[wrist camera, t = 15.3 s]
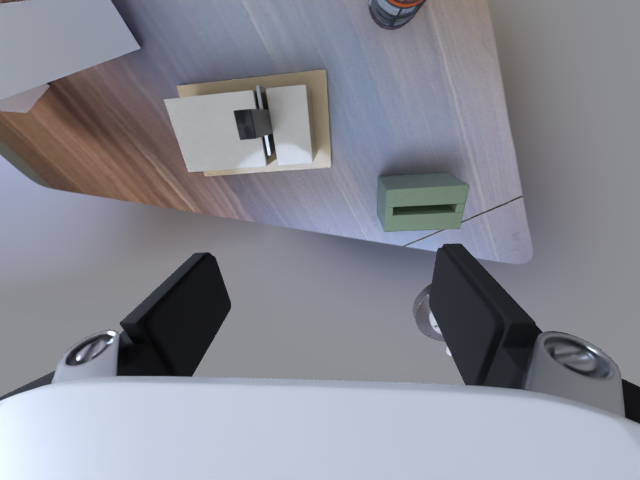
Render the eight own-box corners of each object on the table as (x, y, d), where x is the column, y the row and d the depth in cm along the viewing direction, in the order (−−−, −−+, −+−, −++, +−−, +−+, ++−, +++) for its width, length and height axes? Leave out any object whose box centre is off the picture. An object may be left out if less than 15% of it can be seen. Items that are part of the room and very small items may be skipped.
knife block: (446, 172, 35) (469, 184, 29) (440, 209, 38) (459, 228, 32) (378, 176, 36) (386, 189, 30) (376, 213, 39) (384, 231, 33)
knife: (267, 91, 31) (225, 78, 19) (279, 89, 31) (244, 76, 19) (276, 148, 34) (245, 166, 23) (287, 147, 34) (261, 164, 22)
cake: (331, 166, 36) (330, 178, 29) (207, 175, 38) (179, 188, 31) (326, 70, 30) (323, 58, 23) (180, 86, 32) (138, 79, 25)
